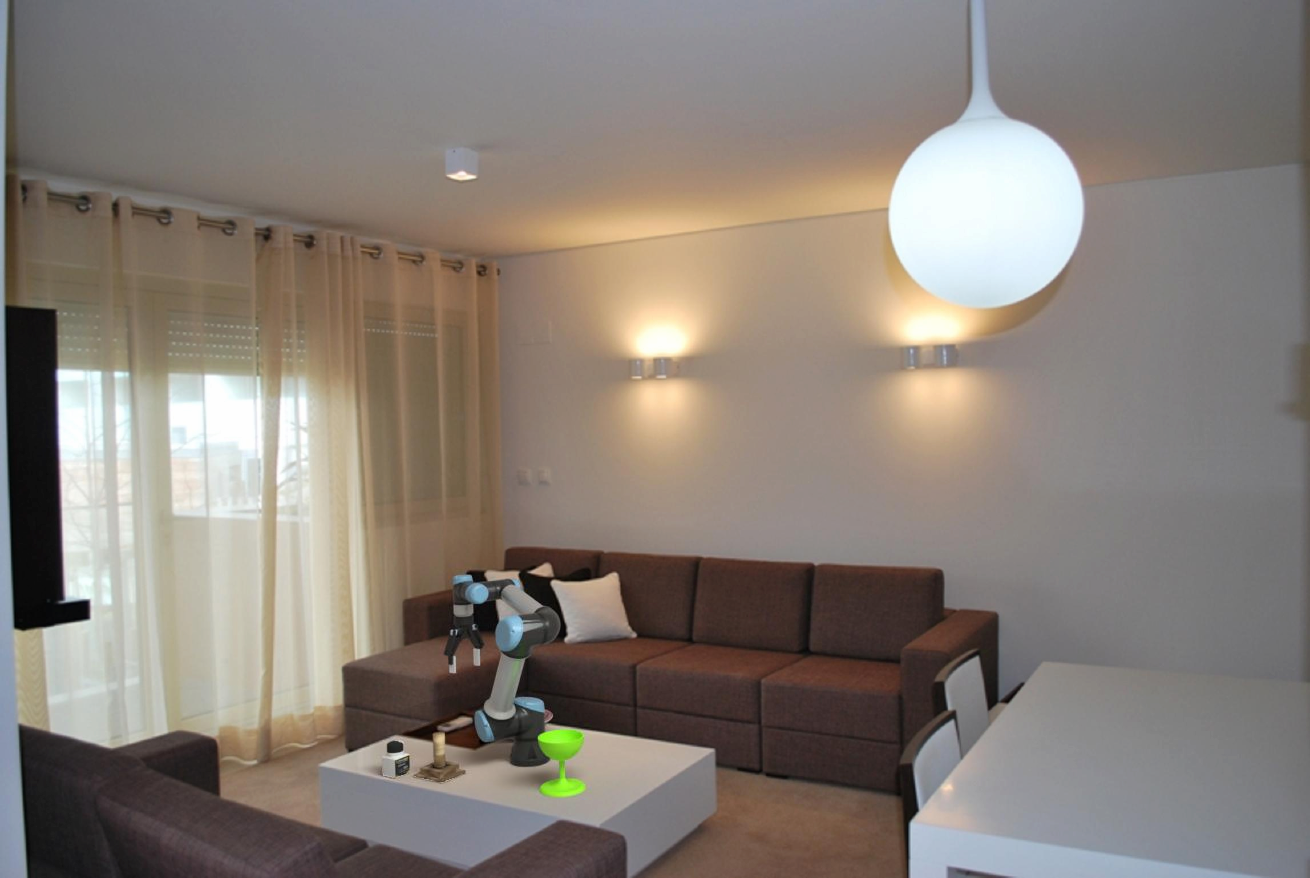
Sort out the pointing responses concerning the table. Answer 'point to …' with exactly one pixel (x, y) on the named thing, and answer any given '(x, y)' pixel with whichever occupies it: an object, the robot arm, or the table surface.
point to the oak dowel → (439, 750)
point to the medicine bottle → (395, 760)
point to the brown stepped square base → (440, 772)
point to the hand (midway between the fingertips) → (465, 669)
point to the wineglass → (561, 760)
